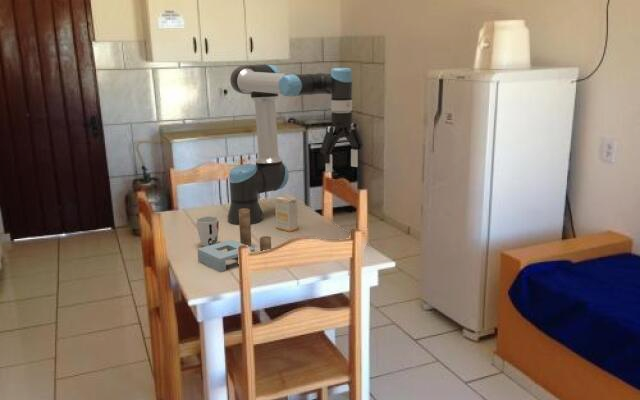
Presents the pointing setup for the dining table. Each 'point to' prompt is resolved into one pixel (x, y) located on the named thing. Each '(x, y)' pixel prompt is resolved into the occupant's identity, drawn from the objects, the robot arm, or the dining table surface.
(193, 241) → the dining table surface
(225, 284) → the dining table surface
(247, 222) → the long pin
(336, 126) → the robot arm
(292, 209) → the supplement box
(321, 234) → the dining table surface
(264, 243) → the short pin
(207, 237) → the cup
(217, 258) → the square hole board
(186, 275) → the dining table surface
